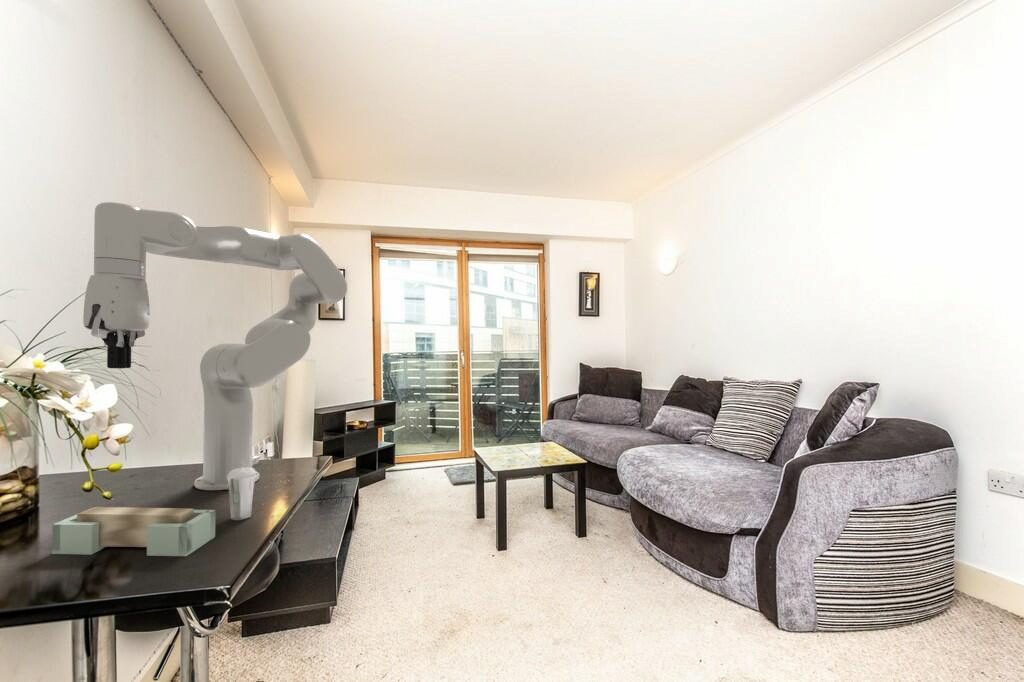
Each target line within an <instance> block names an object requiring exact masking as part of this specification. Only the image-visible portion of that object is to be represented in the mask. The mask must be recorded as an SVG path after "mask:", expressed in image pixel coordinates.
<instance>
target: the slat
mask: <svg viewBox="0 0 1024 682" xmlns="http://www.w3.org/2000/svg"><path fill="white" fill-rule="evenodd" d="M193 510H194V508H188V507H187V508H185V507H184V508H183V507H182V508H180V507H179V508H178V507H176V508H175V507H132V506H131V507H126V506H125V507H122V506H121V507H120V506H119V507H118V506H117V507H116V506H94V507H91V508H89V509H85V510H83V511H80V512H79V513H77V514H76V515H77V522H99V546H107V547H120V548H121V547H124V548H127V547H128V548H129V547H131V548H133V547H135V548H147V526H148V525H150V524H152V523H183V524H184V523H186V522H188V521H190V520H191V519H193Z"/></svg>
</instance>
